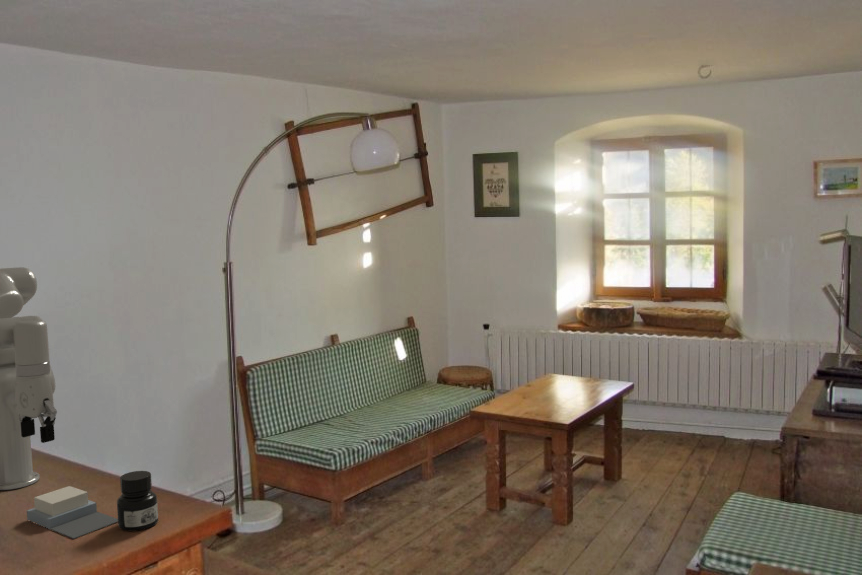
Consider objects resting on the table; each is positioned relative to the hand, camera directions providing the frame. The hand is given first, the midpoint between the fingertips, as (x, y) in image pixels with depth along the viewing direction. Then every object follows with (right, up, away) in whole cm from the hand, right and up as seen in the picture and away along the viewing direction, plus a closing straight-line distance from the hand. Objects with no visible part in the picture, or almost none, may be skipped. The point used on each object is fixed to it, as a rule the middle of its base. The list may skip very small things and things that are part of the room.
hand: (38, 438), depth 192 cm
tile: (+8, -15, -4) cm, 17 cm away
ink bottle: (+28, -19, -9) cm, 35 cm away
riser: (+8, -18, -3) cm, 20 cm away
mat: (+16, -19, -9) cm, 26 cm away
